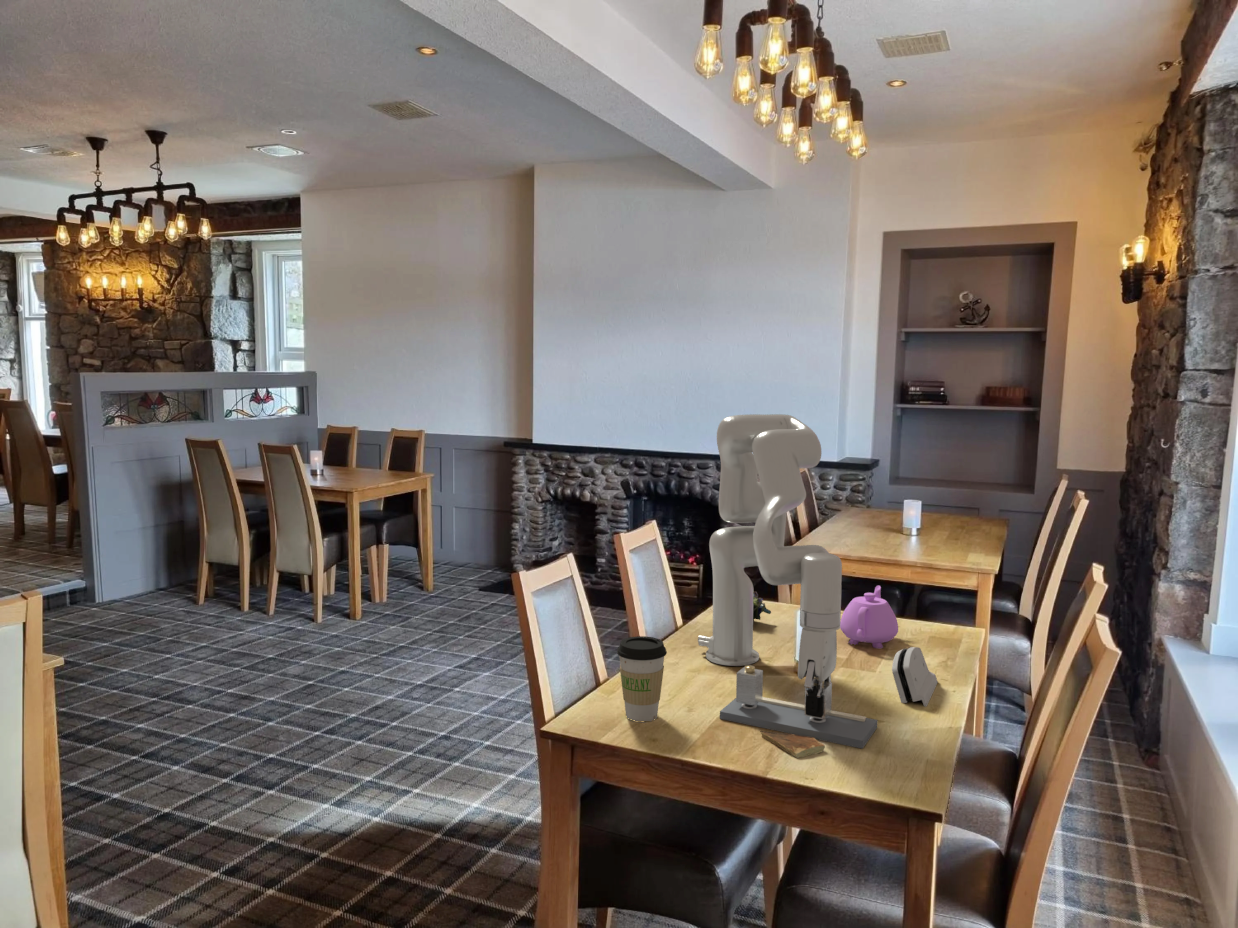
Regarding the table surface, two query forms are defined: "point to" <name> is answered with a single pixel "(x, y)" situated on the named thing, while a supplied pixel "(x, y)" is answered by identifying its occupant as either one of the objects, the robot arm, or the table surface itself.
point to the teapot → (869, 620)
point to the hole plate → (802, 721)
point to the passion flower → (758, 607)
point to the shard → (795, 743)
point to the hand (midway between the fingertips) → (817, 710)
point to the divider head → (826, 698)
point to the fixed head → (749, 685)
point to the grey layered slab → (913, 676)
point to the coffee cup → (641, 676)
